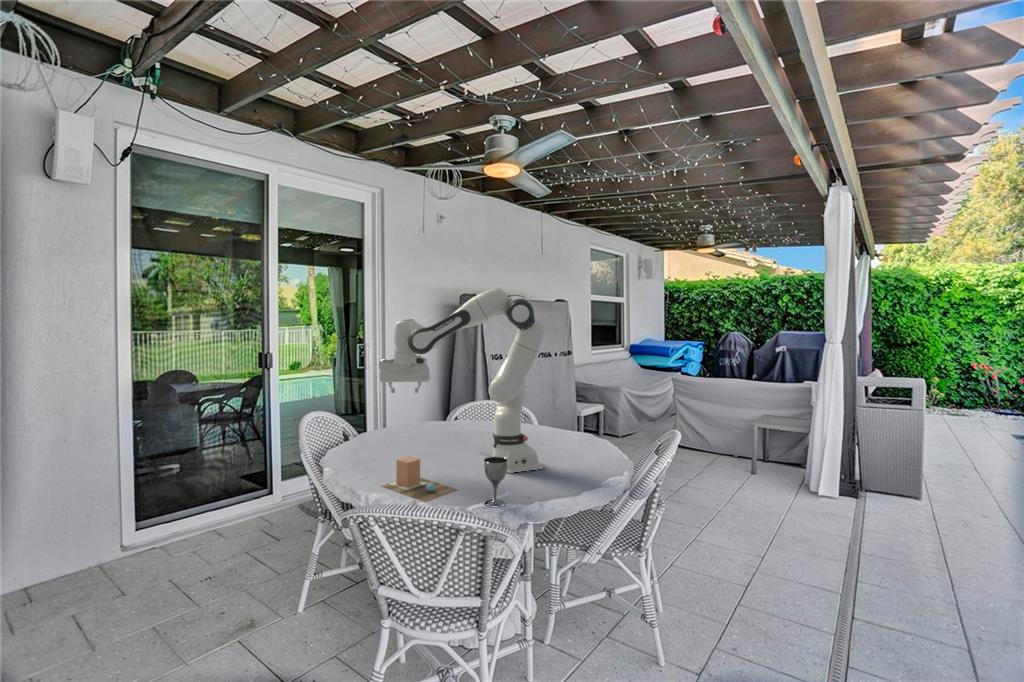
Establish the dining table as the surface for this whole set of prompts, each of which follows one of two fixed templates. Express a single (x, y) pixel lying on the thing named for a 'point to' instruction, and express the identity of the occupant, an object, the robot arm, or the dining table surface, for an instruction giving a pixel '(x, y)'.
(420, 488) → the board
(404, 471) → the tall salmon pillar
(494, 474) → the wine glass
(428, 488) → the ball
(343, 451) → the dining table surface
